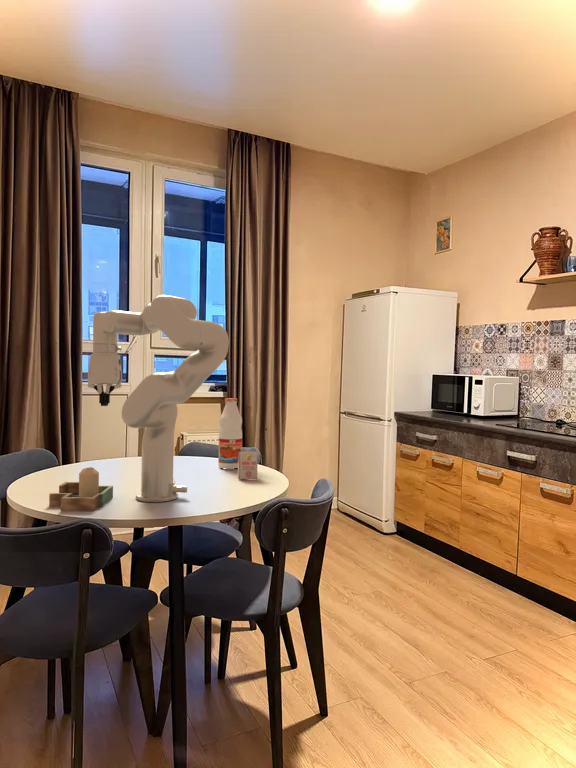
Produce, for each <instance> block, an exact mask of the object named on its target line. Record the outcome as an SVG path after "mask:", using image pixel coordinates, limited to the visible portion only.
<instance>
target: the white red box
mask: <svg viewBox="0 0 576 768" xmlns="http://www.w3.org/2000/svg"><path fill="white" fill-rule="evenodd" d="M238 479H257V480H258V451H242V452H239V454H238V469H237V480H238Z"/></svg>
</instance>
